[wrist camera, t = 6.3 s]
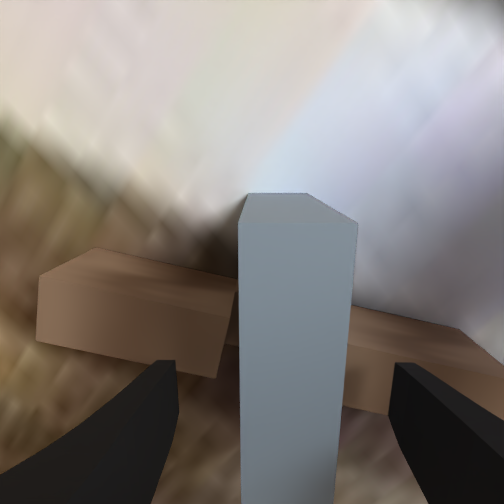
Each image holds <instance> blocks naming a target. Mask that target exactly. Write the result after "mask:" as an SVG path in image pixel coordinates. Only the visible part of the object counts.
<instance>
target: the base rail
mask: <svg viewBox="0 0 504 504" xmlns="http://www.w3.org/2000/svg"><path fill="white" fill-rule="evenodd" d="M36 341H39V342H44V343H49V344H54V345H58V346H63V347H68V348H72V349H77V350H82V351H87V352H91V353H96V354H101V355H105V356H110V357H115V358H120V359H124V360H129V361H134V362H138V363H143V364H148V365H151V364H153V363H154V362H155V361H156V360H175V362H176V371H181V372H186V373H190V374H195V375H200V376H205V377H209V378H214V379H216V375H217V371H218V367H219V363H220V358H221V354H222V350H223V346H224V344H229V345H233V346H238V347H239V280H238V279H234V278H229V277H225V276H220V275H216V274H212V273H207V272H203V271H198V270H194V269H189V268H185V267H181V266H176V265H172V264H167V263H163V262H158V261H154V260H150V259H145V258H141V257H136V256H132V255H127V254H123V253H119V252H114V251H110V250H105V249H101V248H94V249H92V250H90V251H88V252H86V253H84V254H82V255H80V256H78V257H76V258H74V259H72V260H70V261H68V262H66V263H64V264H62V265H60V266H58V267H56V268H54V269H52V270H50V271H48V272H46V273H44V274H42V275H40V276H39V289H38V307H37V324H36ZM395 362H412V363H416V364H417V365H419V366H421V367H422V368H424V369H425V370H427V371H429V372H430V373H432V374H433V375H435V376H436V377H438V378H439V379H441V380H442V381H444V382H445V383H447V384H448V385H450V386H451V387H453V388H454V389H456V390H457V391H459V392H460V393H462V394H463V395H465V396H466V397H468V398H469V399H471V400H472V401H474V402H475V403H477V404H478V405H480V406H481V407H483V408H484V409H486V410H488V411H489V412H491V413H492V414H494V415H496V416H497V417H499V418H501V419H502V420H504V366H503V365H502V364H501V363H500V362H498V361H497V360H496V359H495V358H494V357H492V356H491V355H490V354H489V353H487V352H486V351H485V350H484V349H483V348H481V347H480V346H479V345H478V344H476V343H475V342H474V341H473V340H472V339H470V338H469V337H468V336H467V335H466V334H464V333H463V332H462V331H461V330H459V329H455V328H451V327H447V326H442V325H438V324H433V323H429V322H424V321H420V320H416V319H411V318H407V317H402V316H398V315H393V314H389V313H384V312H380V311H376V310H371V309H367V308H362V307H358V306H353V305H351V309H350V321H349V332H348V343H347V354H346V366H345V377H344V388H343V399H342V406H346V407H351V408H356V409H360V410H365V411H370V412H374V413H379V414H384V415H388V410H389V403H390V395H391V388H392V380H393V373H394V365H395Z"/></svg>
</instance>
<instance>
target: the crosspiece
mask: <svg viewBox="0 0 504 504" xmlns="http://www.w3.org/2000/svg"><path fill="white" fill-rule="evenodd" d="M357 230H358V223H357V222H355V221H353V220H352V219H350V218H348V217H347V216H345V215H343V214H342V213H340V212H338V211H336V210H335V209H333V208H331V207H330V206H328V205H326V204H325V203H323V202H321V201H320V200H318V199H316V198H314V197H313V196H311V195H309V194H308V193H249V194H248V196H247V199H246V202H245V205H244V208H243V210H242V213H241V216H240V219H239V221H238V270H239V355H240V440H241V504H333V501H334V490H335V478H336V467H337V456H338V445H339V433H340V422H341V411H342V399H343V388H344V377H345V366H346V354H347V343H348V332H349V321H350V309H351V298H352V287H353V275H354V264H355V253H356V242H357Z"/></svg>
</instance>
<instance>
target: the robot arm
mask: <svg viewBox="0 0 504 504" xmlns="http://www.w3.org/2000/svg"><path fill="white" fill-rule="evenodd" d="M178 415H179V403H178V389H177V376H176V362H175V360H156V361H155V362H154V363H153V364H151V365H150V366H149V367H148V368H147V369H146V370H145V371H144V372H142V373H141V374H140V375H139V376H138V377H137V378H136V379H135V380H133V381H132V382H131V383H130V384H129V385H128V386H127V387H125V388H124V389H123V390H122V391H121V392H120V393H118V394H117V395H116V396H115V397H114V398H113V399H111V400H110V401H109V402H108V403H106V404H105V405H104V406H103V407H101V408H100V409H99V410H97V411H96V412H95V413H94V414H92V415H91V416H90V417H89V418H87V419H86V420H85V421H83V422H82V423H81V424H79V425H78V426H77V427H75V428H74V429H72V430H71V431H70V432H68V433H67V434H65V435H64V436H62V437H61V438H59V439H58V440H56V441H55V442H53V443H52V444H50V445H49V446H47V447H46V448H44V449H43V450H41V451H40V452H38V453H36V454H35V455H33V456H31V457H30V458H28V459H26V460H25V461H23V462H21V463H19V464H18V465H16V466H14V467H13V468H11V469H9V470H8V471H6V472H4V473H3V474H1V475H0V504H151V501H152V498H153V496H154V493H155V490H156V487H157V484H158V482H159V479H160V476H161V473H162V470H163V468H164V465H165V462H166V459H167V456H168V453H169V450H170V447H171V444H172V441H173V437H174V432H175V428H176V424H177V419H178ZM388 416H389V419H390V422H391V425H392V428H393V431H394V433H395V436H396V439H397V441H398V444H399V446H400V448H401V451H402V453H403V455H404V457H405V459H406V461H407V463H408V465H409V467H410V469H411V470H412V472H413V474H414V476H415V478H416V480H417V482H418V484H419V486H420V488H421V490H422V492H423V494H424V496H425V498H426V500H427V502H428V504H504V420H502V419H501V418H499V417H497V416H496V415H494V414H492V413H491V412H489V411H488V410H486V409H484V408H483V407H481V406H480V405H478V404H477V403H475V402H474V401H472V400H471V399H469V398H468V397H466V396H465V395H463V394H462V393H460V392H459V391H457V390H456V389H454V388H453V387H451V386H450V385H448V384H447V383H445V382H444V381H442V380H441V379H439V378H438V377H436V376H435V375H433V374H432V373H430V372H429V371H427V370H425V369H424V368H422V367H421V366H419V365H417V364H416V363H412V362H395V365H394V373H393V380H392V388H391V395H390V403H389V410H388Z"/></svg>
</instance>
